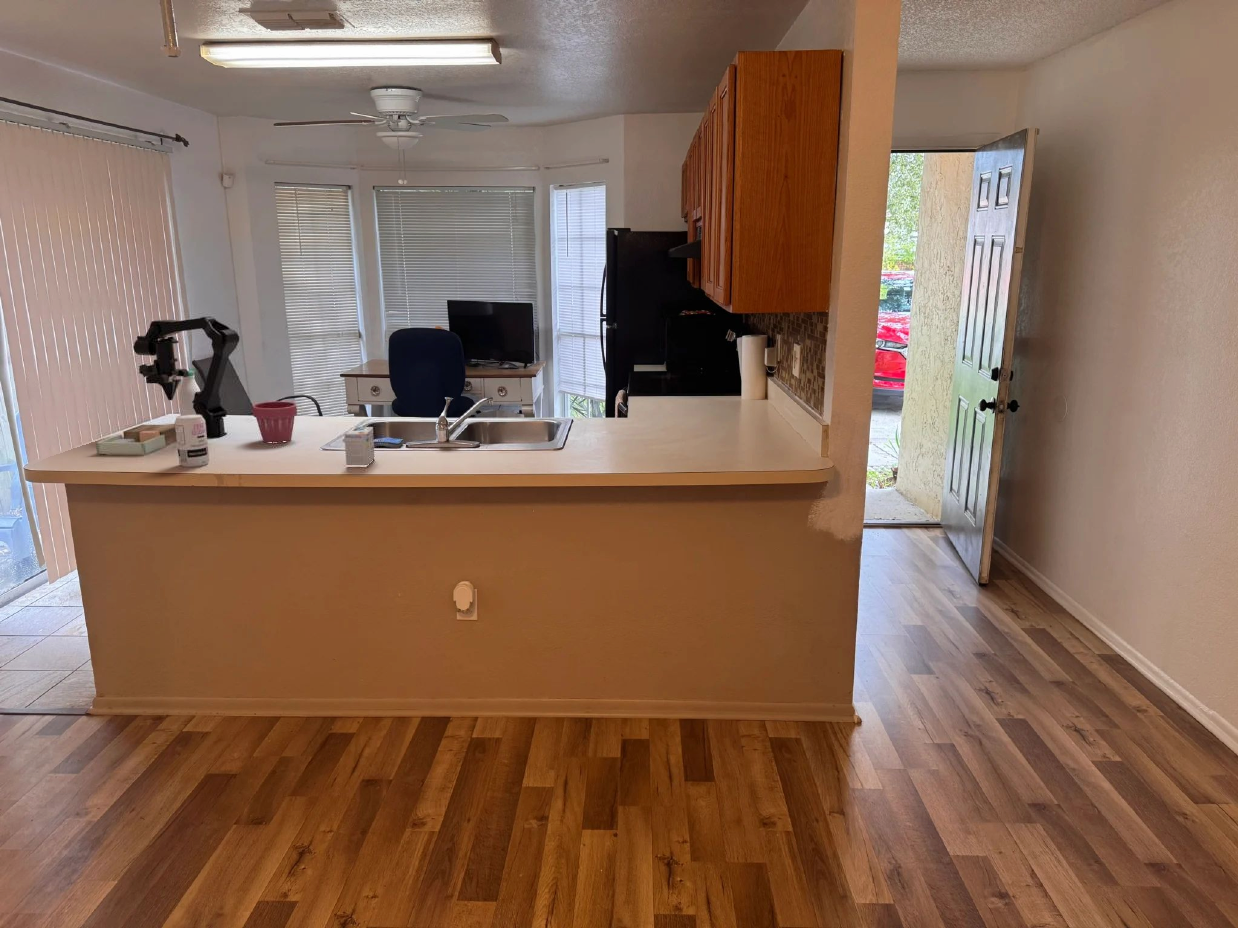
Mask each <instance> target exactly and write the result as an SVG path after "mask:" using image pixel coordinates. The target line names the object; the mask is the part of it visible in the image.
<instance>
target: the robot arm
mask: <svg viewBox="0 0 1238 928" xmlns="http://www.w3.org/2000/svg"><path fill="white" fill-rule="evenodd" d="M193 330H194V331H195V330H203V331H204V333H205V336H207V338H208V339H210V340H211V348H212V351H213V354H212V357H211V361H210V364H209V368H208V371H207V375H206V379H205V382H204V385H203V388H202V390H200V392H196V393H195V395H194V400H193V401H192V403H193V409H194V410H195V412H196V414H198V415H202V417H203V418H204V420H205V425H206V435H207V438H221V437H223V436H226V435H227V434H228V432H225V421H224V418H226V417H227V414H228V411H227V410H226V409H225V407H224V406H222V404H221V396H220V388H221V385H222V381H223V378H224V374H225V372H226V367H227V365H228V360H229V358H230V355H231V354H233V352H235V350H236V349H237V346H238V344H239V342H240V336H239V334H238V331H236V330H235V329H233V328H231V327H230V326H228V325H226V324H224V323H222V322H220V321H219V320H217V319H216V318H215V317H214V316H202V317H201V316H200V317H199V318H193V319H192V318H191V319H183V320H175V319H160V320H153V321H151V322H150V325H149V328H148V330H147V331H146V334H145V335H137V336H136V340H135V342H134V343H133V350H134V352H135V354H136V355H138V356H153V357H156V359H153V360H152V361H153V364H151V365H148V364H146V363H144V364H140V365H139V366H138V370H139V372H138V373H139V375H142V377H143V378H145V383H146V384H158V385H159V387H160V386H161V388H162V390H163V391H164V394H165V396H166V398H167V400H168V401H173V399H174V397H175V394H176V392H177V390H178V386H179V385H180V384H181V382H182V378H181V379H178V377H181V376H183V377H188V376H189V375H188V371H189V370H187V369H186V368H177V367H176V366H177V365H176V362H178V358H177V357H175V350H174V349H175V348H174V345H175V344H178V343H180V342H179V341H178V340H177V339H176V338H175V337H174V335H177V334H179V333H181V332H185V331H186V332H187V331H193Z"/></svg>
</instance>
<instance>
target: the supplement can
mask: <svg viewBox="0 0 1238 928" xmlns="http://www.w3.org/2000/svg"><path fill="white" fill-rule="evenodd" d="M174 425H175V430H176V439H177V441H176V446H177V454H178V464H179V465H181V466H182V467H183V468H197V467H198V468H199V467H203V466H205V465H206V466H207V465H208V463H210V457H209V456H210V454H209V447H208V437H207V435H206V425H205V420H204V418H203V417H202V415H198V414H189V415H181V414H180V415H177V416H176V418H175V420H174Z"/></svg>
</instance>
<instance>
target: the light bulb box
mask: <svg viewBox="0 0 1238 928" xmlns="http://www.w3.org/2000/svg"><path fill="white" fill-rule="evenodd" d="M374 441H375V440H374V427H373V426H358V427H357V426H353V427H351V428H350V429H349V430H347V432H346V433H344V450H345V466H346V465H368V464H370V462H371V461H372V460H373V459H374V457H375V442H374ZM370 465H371V464H370Z"/></svg>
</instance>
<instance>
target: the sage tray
mask: <svg viewBox="0 0 1238 928" xmlns="http://www.w3.org/2000/svg"><path fill="white" fill-rule="evenodd" d="M122 436H123V435H122V434H117V435H113V436H111V437H107V438H105V439H102V440H99V441H98V442H97V441H96V442H95V445H96V455H97V454H106V455H105V456H145V457H146V456H147V455H149V454H152V453H155V452H156V451H159V450H162V449H164V448H166V447H167V446H166V444H165V436H164V435H160V436H158V437H155V438H153V439H150V440H148V441H145V442H143V443H120V442H113V441H115V440H118V439H123V437H122Z"/></svg>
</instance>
